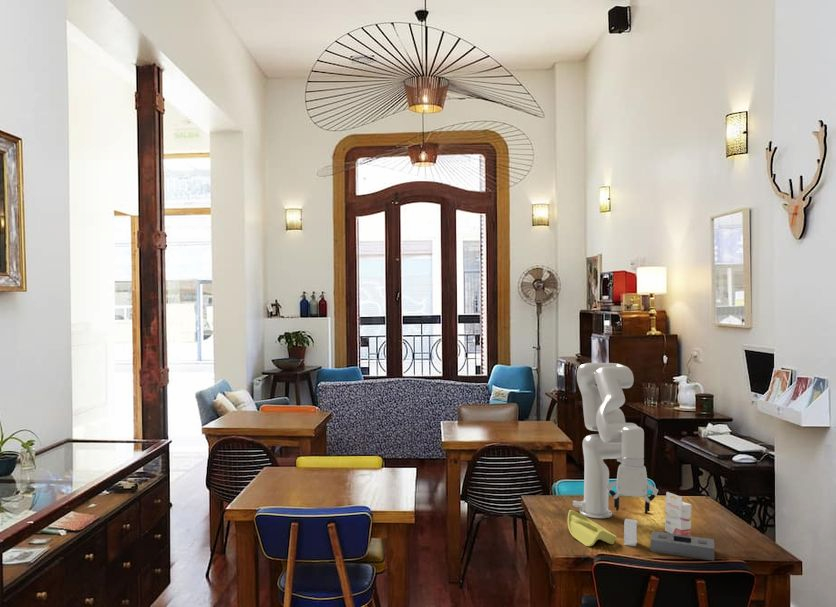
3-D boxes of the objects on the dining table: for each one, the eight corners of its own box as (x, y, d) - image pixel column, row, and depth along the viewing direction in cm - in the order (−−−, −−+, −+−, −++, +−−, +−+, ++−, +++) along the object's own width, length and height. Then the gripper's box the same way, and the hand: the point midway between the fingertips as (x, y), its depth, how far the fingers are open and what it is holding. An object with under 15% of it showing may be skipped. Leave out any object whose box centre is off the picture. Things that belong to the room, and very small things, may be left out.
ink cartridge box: (691, 536, 255) (692, 496, 255) (681, 538, 253) (682, 497, 253) (674, 529, 263) (675, 490, 263) (664, 530, 261) (664, 491, 261)
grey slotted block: (650, 551, 239) (650, 539, 239) (652, 542, 248) (652, 530, 248) (714, 560, 231) (714, 548, 231) (713, 550, 241) (714, 539, 241)
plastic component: (619, 538, 245) (598, 528, 241) (610, 557, 244) (589, 548, 241) (587, 517, 263) (567, 507, 260) (578, 535, 263) (558, 526, 259)
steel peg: (623, 544, 245) (624, 521, 245) (624, 541, 249) (625, 518, 249) (635, 546, 244) (636, 523, 244) (636, 542, 247) (637, 520, 247)
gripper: (605, 461, 246) (605, 511, 245) (657, 466, 239) (657, 517, 239) (608, 458, 253) (607, 506, 252) (659, 462, 246) (658, 511, 246)
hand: (631, 511), depth 245 cm, fingers open, 9 cm apart
